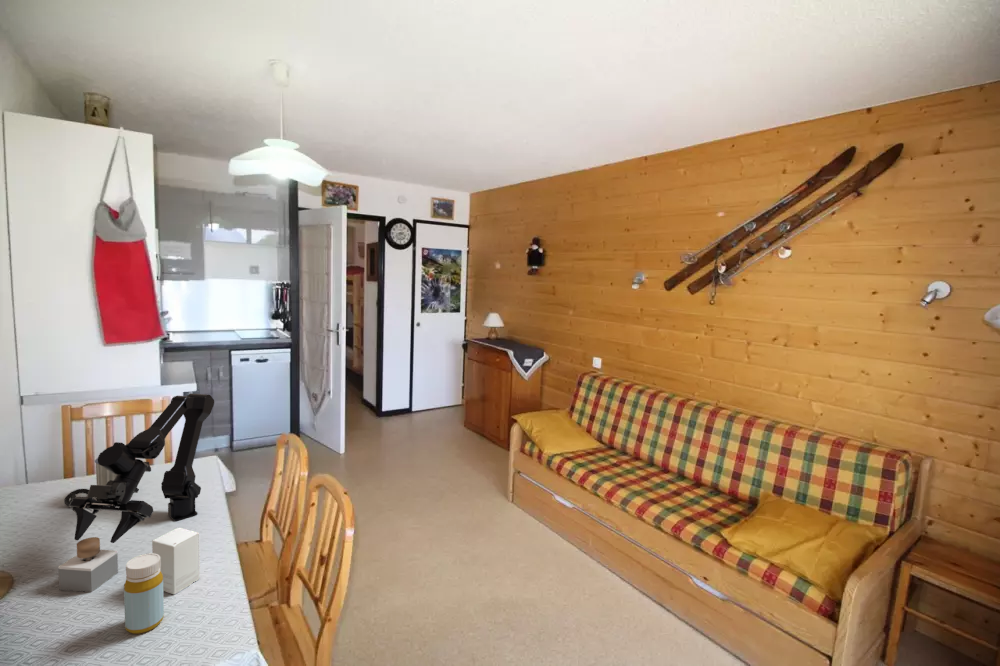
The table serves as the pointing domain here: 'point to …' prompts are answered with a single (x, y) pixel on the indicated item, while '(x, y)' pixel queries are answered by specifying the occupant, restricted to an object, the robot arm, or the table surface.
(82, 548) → the plunger
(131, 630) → the bottle
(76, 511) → the robot arm
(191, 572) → the supplement box
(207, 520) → the table surface
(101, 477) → the milk frother
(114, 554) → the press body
